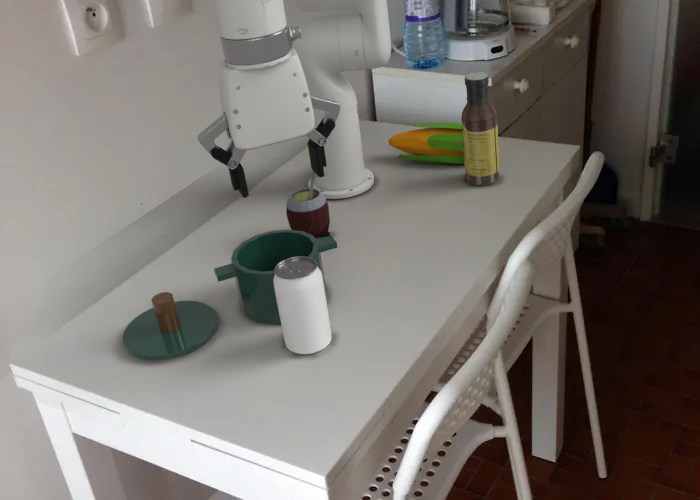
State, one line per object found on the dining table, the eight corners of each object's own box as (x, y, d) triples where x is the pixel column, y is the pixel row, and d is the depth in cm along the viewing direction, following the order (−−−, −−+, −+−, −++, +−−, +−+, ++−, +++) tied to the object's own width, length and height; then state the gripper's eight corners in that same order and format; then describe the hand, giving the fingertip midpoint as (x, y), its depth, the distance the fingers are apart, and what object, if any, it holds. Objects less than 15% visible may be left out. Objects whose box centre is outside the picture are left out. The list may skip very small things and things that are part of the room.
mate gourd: (292, 229, 139) (278, 149, 132) (337, 224, 139) (326, 144, 132) (290, 251, 133) (275, 168, 126) (337, 245, 132) (325, 162, 125)
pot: (217, 296, 123) (205, 248, 119) (327, 264, 128) (320, 217, 123) (235, 339, 113) (223, 288, 108) (355, 303, 117) (348, 252, 113)
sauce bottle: (478, 169, 152) (473, 66, 142) (506, 176, 148) (503, 71, 138) (458, 182, 148) (451, 77, 138) (486, 190, 144) (482, 82, 134)
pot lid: (119, 323, 120) (108, 288, 117) (208, 297, 123) (200, 263, 120) (130, 374, 108) (118, 337, 105) (228, 344, 112) (219, 307, 109)
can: (326, 357, 107) (313, 280, 101) (279, 355, 108) (264, 280, 102) (336, 328, 112) (325, 254, 106) (292, 327, 114) (278, 254, 108)
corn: (481, 130, 148) (379, 127, 155) (482, 169, 151) (382, 165, 158) (490, 118, 154) (391, 116, 161) (491, 156, 157) (394, 152, 164)
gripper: (318, 23, 95) (336, 155, 104) (174, 54, 91) (206, 189, 100) (339, 37, 89) (357, 176, 98) (186, 72, 85) (219, 214, 94)
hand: (281, 183), depth 99 cm, fingers open, 9 cm apart
